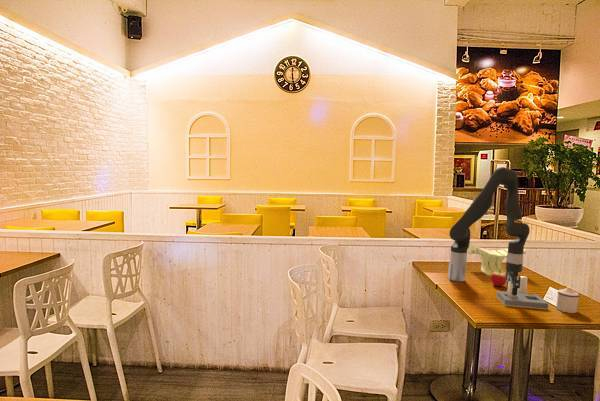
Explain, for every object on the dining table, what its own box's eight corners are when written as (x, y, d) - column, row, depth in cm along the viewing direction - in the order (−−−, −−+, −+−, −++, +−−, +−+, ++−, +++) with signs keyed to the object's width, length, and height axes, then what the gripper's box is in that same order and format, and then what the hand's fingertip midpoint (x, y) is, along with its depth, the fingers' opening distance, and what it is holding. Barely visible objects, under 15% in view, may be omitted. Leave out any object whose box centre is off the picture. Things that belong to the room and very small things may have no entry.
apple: (508, 286, 242) (509, 269, 241) (503, 289, 236) (504, 271, 235) (493, 282, 248) (494, 266, 247) (488, 285, 242) (489, 268, 241)
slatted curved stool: (512, 270, 277) (515, 244, 275) (523, 277, 261) (526, 249, 259) (466, 267, 280) (468, 241, 278) (474, 274, 264) (476, 247, 262)
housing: (504, 305, 209) (505, 299, 208) (496, 296, 223) (496, 291, 222) (547, 309, 206) (548, 303, 205) (536, 300, 219) (537, 294, 219)
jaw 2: (518, 295, 225) (520, 277, 224) (515, 293, 230) (517, 275, 229) (527, 296, 224) (529, 278, 223) (524, 293, 229) (526, 276, 228)
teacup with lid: (581, 314, 201) (584, 290, 200) (562, 313, 201) (564, 289, 200) (567, 305, 213) (569, 283, 212) (548, 304, 213) (551, 282, 212)
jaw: (507, 301, 213) (509, 282, 212) (504, 298, 218) (506, 280, 216) (517, 302, 212) (519, 283, 211) (514, 299, 217) (515, 281, 216)
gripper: (502, 257, 220) (499, 287, 222) (511, 264, 206) (508, 296, 208) (517, 258, 219) (514, 288, 221) (527, 265, 205) (524, 297, 207)
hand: (511, 292), depth 214 cm, fingers open, 8 cm apart
